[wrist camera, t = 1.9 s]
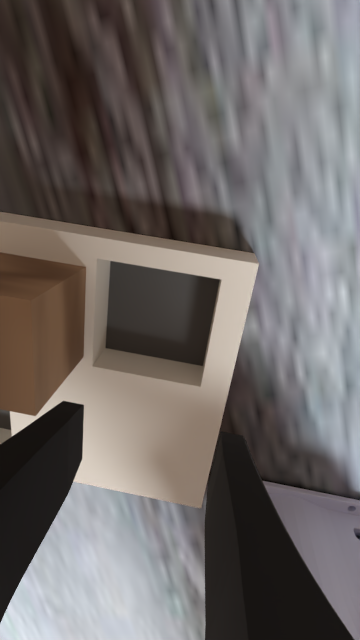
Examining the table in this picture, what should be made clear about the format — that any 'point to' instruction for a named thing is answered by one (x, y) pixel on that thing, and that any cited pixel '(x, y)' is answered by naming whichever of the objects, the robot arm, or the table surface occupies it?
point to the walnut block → (38, 329)
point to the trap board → (144, 352)
